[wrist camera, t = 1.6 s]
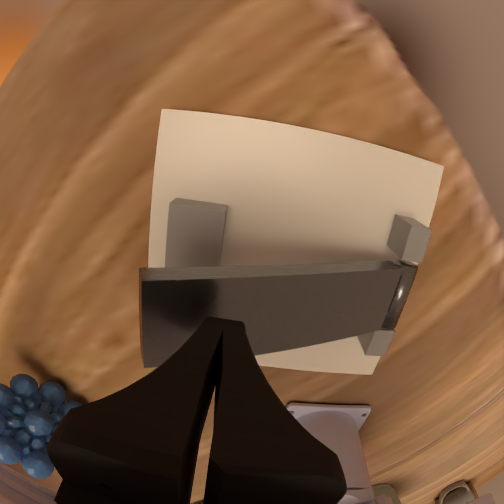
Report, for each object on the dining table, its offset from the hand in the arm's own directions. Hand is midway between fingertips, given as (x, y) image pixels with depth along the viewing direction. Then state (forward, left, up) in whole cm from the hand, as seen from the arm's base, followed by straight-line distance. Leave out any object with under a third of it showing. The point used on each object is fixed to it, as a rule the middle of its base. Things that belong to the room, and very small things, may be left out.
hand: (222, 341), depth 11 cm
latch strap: (0, -3, -4) cm, 5 cm away
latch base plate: (0, -3, -10) cm, 10 cm away
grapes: (-19, +17, -10) cm, 27 cm away
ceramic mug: (-42, -46, -10) cm, 63 cm away
